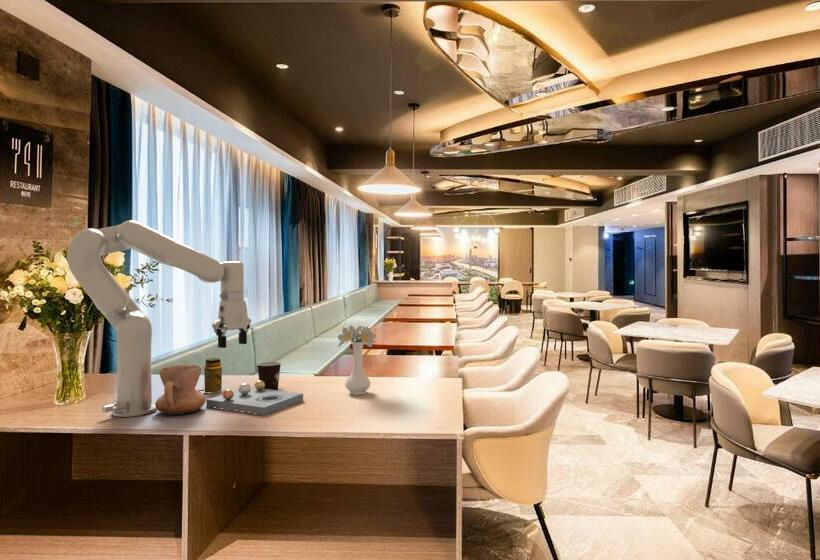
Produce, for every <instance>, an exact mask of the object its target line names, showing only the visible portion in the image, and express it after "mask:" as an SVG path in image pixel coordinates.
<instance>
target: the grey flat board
mask: <svg viewBox="0 0 820 560" xmlns="http://www.w3.org/2000/svg"><path fill="white" fill-rule="evenodd" d="M250 387H251V390H250V392H249V393H248V394H247V395H242V394H240V393H239V390H235V391H234V390H233V392H234V396H233V398H232V399H230V400H225V399H224V398H223V394H221V395H216V396H214V397H211V398H207V399H206V407H207V406H210V407H216V408H215V409H217V408H223V409H229V410H228V411H230V410H237V411H244V412H250V413H256V414H262V415H261V416H263V415H264V416H266V415H265V414H267V415H269V414H268V413H270V414H272V413H274V412H273V411H275V412H277V411H280V410H283V409H284V407H285V408H288V407H291V406H293V405H295V404H298V403H300V402H303V401H304V393H301V392H294V391H293V392H292V391H284V390H279V389H278V390H270V389H262V390H257V389H256V388H255V386H254V387H252V386H250ZM290 405H291V406H290ZM287 406H288V407H287ZM210 407H209V408H210ZM282 408H283V409H282ZM223 409H222V410H223ZM279 409H280V410H279ZM276 410H277V411H276ZM271 412H272V413H271ZM250 413H249V414H250ZM256 414H255V415H256Z"/></svg>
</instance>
